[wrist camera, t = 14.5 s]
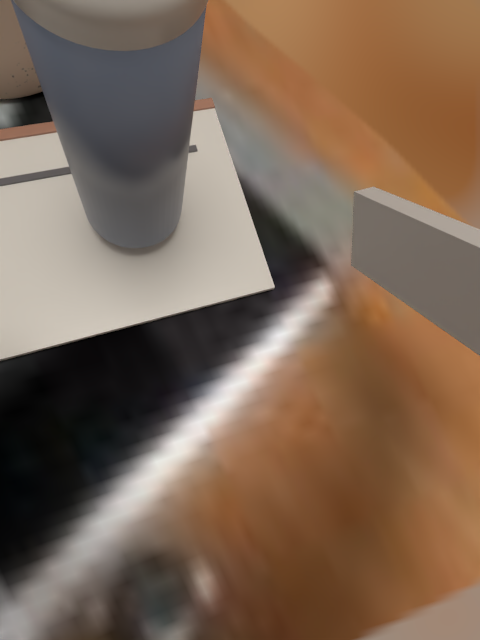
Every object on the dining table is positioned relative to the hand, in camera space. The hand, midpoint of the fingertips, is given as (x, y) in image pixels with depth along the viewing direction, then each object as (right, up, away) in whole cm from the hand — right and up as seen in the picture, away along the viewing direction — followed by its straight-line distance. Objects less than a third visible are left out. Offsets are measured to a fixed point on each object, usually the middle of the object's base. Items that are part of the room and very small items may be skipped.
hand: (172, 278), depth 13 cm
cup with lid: (-3, +3, +6) cm, 7 cm away
